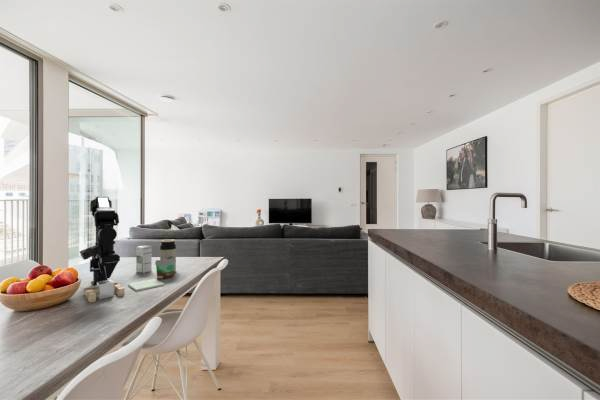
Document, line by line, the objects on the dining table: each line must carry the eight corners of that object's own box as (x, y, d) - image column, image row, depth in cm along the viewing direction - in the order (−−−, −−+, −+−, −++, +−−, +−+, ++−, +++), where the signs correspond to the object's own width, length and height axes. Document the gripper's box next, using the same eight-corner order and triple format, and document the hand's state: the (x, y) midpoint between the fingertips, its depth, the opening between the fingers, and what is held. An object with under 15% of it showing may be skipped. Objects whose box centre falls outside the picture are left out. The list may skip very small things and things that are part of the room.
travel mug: (160, 274, 151) (160, 241, 151) (160, 271, 158) (160, 239, 159) (176, 272, 155) (176, 240, 155) (175, 269, 162) (175, 238, 162)
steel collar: (96, 296, 117) (96, 282, 117) (110, 293, 121) (110, 279, 121) (99, 299, 113) (99, 284, 113) (113, 296, 117) (114, 282, 117)
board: (128, 285, 132) (128, 283, 132) (155, 280, 141) (155, 278, 141) (136, 291, 124) (136, 289, 124) (164, 285, 132) (164, 283, 132)
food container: (165, 280, 140) (165, 261, 140) (155, 280, 141) (155, 260, 141) (180, 274, 152) (181, 256, 152) (170, 273, 153) (171, 255, 153)
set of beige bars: (83, 294, 119) (83, 285, 119) (116, 288, 128) (116, 279, 128) (89, 302, 110) (89, 292, 110) (124, 295, 119) (124, 285, 119)
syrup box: (152, 270, 159) (152, 245, 159) (142, 273, 154) (142, 247, 154) (145, 269, 162) (145, 244, 162) (135, 272, 156) (135, 246, 156)
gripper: (77, 238, 118) (77, 275, 118) (86, 243, 105) (85, 285, 105) (108, 236, 126) (108, 270, 126) (120, 240, 113) (120, 278, 113)
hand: (105, 276), depth 117 cm, fingers open, 9 cm apart
